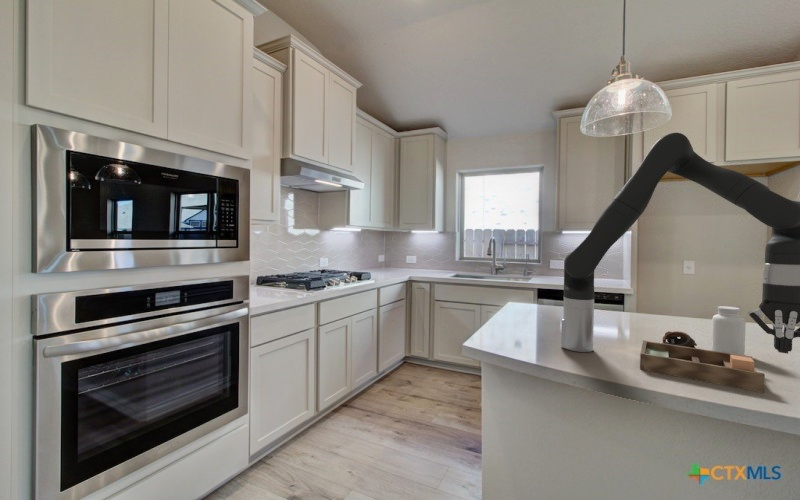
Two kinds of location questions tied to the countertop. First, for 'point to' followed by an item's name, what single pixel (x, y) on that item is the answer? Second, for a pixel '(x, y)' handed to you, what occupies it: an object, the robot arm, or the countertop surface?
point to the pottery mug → (683, 341)
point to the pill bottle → (728, 331)
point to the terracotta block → (741, 363)
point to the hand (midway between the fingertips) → (782, 352)
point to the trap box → (698, 365)
